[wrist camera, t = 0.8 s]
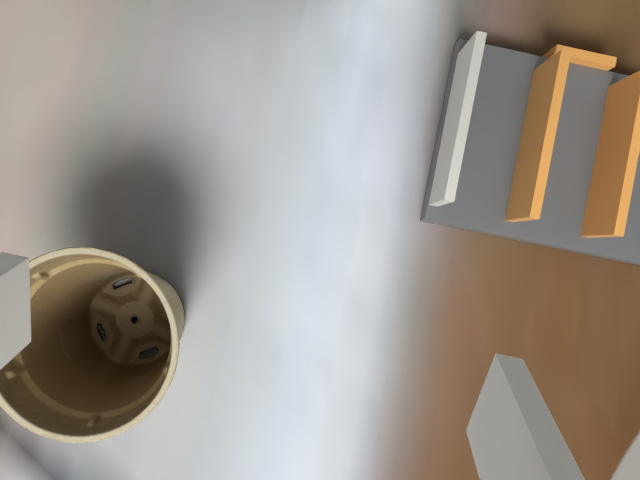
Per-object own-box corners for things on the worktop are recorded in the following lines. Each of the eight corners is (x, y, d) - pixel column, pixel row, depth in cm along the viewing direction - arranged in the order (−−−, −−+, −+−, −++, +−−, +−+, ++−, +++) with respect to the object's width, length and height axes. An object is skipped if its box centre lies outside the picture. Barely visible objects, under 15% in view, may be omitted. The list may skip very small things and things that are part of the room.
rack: (456, 37, 34) (481, 3, 30) (682, 86, 35) (742, 61, 30) (420, 220, 34) (440, 216, 29) (649, 267, 35) (704, 270, 30)
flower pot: (134, 422, 33) (76, 485, 24) (31, 319, 33) (-65, 345, 24) (239, 320, 33) (219, 345, 25) (137, 217, 33) (81, 206, 24)
